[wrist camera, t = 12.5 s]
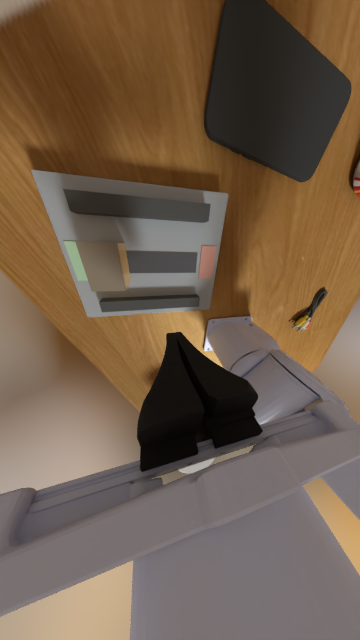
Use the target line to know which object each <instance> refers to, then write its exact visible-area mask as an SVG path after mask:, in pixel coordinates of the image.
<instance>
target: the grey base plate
mask: <svg viewBox="0 0 360 640" xmlns="http://www.w3.org/2000/svg"><path fill="white" fill-rule="evenodd" d="M31 171H32V174H33V177H34V179H35V182H36V184H37V187H38V190H39V192H40V195H41V197H42V200H43V202H44V205H45V208H46V210H47V213H48V215H49V218H50V221H51V223H52V226H53V228H54V231H55V233H56V236H57V239H58V241H59V244H60V246H61V249H62V252H63V254H64V257H65V259H66V262H67V264H68V267H69V270H70V272H71V275H72V277H73V280H74V283H75V285H76V288H77V290H78V293H79V295H80V298H81V301H82V303H83V306H84V308H85V311H86V314H87V316H88V317H101V316H116V315H132V314H147V313H162V312H177V311H192V310H207V309H210V304H211V298H212V292H213V286H214V280H215V274H216V268H217V262H218V256H219V249H220V243H221V237H222V231H223V225H224V219H225V213H226V207H227V201H228V195H229V194H228V193H219V192H211V191H203V190H195V189H187V188H178V187H170V186H162V185H154V184H146V183H137V182H129V181H121V180H113V179H105V178H96V177H88V176H80V175H72V174H64V173H55V172H47V171H39V170H31ZM63 189H70V190H80V191H89V192H99V193H109V194H119V195H129V196H138V197H148V198H158V199H168V200H178V201H187V202H197V203H207V204H211V206H210V214H209V221H208V222H205V223H198V222H183V221H169V220H155V219H141V218H127V217H113V216H99V215H85V214H76V213H74V212H71V211H70V209H69V206H68V203H67V200H66V197H65V194H64V190H63ZM75 242H105V243H125V247H126V253H127V259H128V265H129V272H130V278H131V281H130V283H129V285H128V287H127V289H126V291H97V292H92V291H91V288H90V285H89V282H88V279H87V276H86V273H85V270H84V267H83V264H82V261H81V258H80V255H79V252H78V249H77V246H76V243H75ZM189 294H197V295H198V296H199V297H200V301H199V307H183V308H167V309H150V310H134V311H117V312H102V311H101V308H100V305H99V301H100V300H101V299H102V298H116V297H141V296H165V295H189Z"/></svg>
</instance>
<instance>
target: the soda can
mask: <svg viewBox="0 0 360 640" xmlns="http://www.w3.org/2000/svg"><path fill="white" fill-rule="evenodd" d="M353 187H354V191H355V193H356V195H357V196H359V197H360V160H359V162H358V164H357V166H356V168H355V171H354V175H353Z"/></svg>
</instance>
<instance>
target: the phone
mask: <svg viewBox="0 0 360 640" xmlns="http://www.w3.org/2000/svg"><path fill="white" fill-rule="evenodd" d="M350 94H351V83H350V81H349V79H348V78H347V77H346V76H345V75H344V74H343V73H341V72H340V71H339V70H338V69H337V68H336V67H335V66H334V65H333V64H332V63H331V62H330V61H329V60H328V59H327V58H326V57H324V56H323V55H322V54H321V53H320V52H319V51H318V50H317V49H316V48H315V47H314V46H313V45H312V44H311V43H310V42H309V41H308V40H306V39H305V38H304V37H303V36H302V35H301V34H300V33H299V32H298V31H297V30H296V29H295V28H294V27H293V26H292V25H291V24H290V23H288V22H287V21H286V20H285V19H284V18H283V17H282V16H281V15H280V14H279V13H278V12H277V11H276V10H275V9H274V8H273V7H272V6H270V5H269V4H268V3H267V2H266V1H265V0H225V3H224V7H223V10H222V15H221V21H220V26H219V32H218V38H217V44H216V50H215V56H214V62H213V68H212V74H211V80H210V86H209V92H208V99H207V105H206V111H205V118H204V126H205V131H206V134H207V136H208V137H209V138H210V139H211V140H212V141H214V142H216V143H218V144H220V145H223V146H225V147H227V148H229V149H231V150H232V151H234V152H236V153H238V154H242V155H243V156H244V157H246V158H248V159H252V160H254V161H256V162H259V163H261V164H263V165H265V166H267V167H269V168H271V169H273V170H275V171H278V172H280V173H282V174H284V175H286V176H288V177H290V178H292V179H294V180H297V181H299V182H305V181H307V180H309V179H310V178H311V177H312V175H313V174H314V172H315V170H316V168H317V166H318V164H319V162H320V160H321V158H322V156H323V154H324V152H325V150H326V148H327V145H328V143H329V141H330V139H331V137H332V135H333V133H334V131H335V129H336V127H337V125H338V123H339V121H340V118H341V116H342V114H343V112H344V110H345V108H346V106H347V103H348V101H349V98H350Z"/></svg>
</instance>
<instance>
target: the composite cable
mask: <svg viewBox="0 0 360 640" xmlns="http://www.w3.org/2000/svg"><path fill="white" fill-rule="evenodd" d="M326 294H327V290H320V291H319V292H318V293H317V294H316V296H315V298H314V300H313V303H312V305H311V307H310V308H309V309H308V310H306V311H305V312H304V313H303V314H302V315H301V316H300V317H299V318H298V319H297V320H296V322H295V324H294V325H295V326H293V327H292V328H293V329H294V328H295V327H298V328H299V329H298V330H297V332H299V331H300V330H301V332H303V331H304V330H305V329H307V328H308V326H309V324H310V322H311V319H312V316H313V313H314V311H315V310H316V308H317V307H318V306H319V304H320V303H321V302H322V300H323V299H324V298H325V296H326Z"/></svg>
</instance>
